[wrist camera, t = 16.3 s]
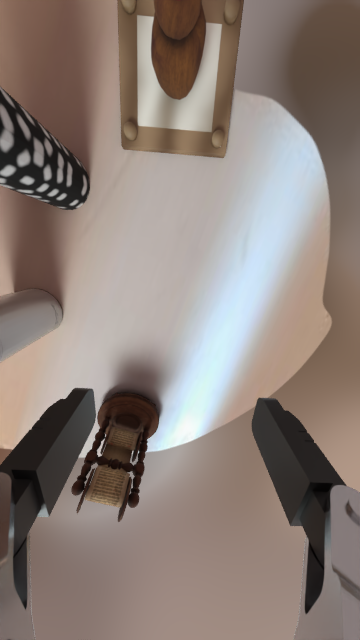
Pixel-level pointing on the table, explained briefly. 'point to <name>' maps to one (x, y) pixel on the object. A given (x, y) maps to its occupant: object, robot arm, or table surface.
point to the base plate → (202, 101)
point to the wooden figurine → (177, 44)
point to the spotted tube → (38, 160)
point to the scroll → (118, 452)
